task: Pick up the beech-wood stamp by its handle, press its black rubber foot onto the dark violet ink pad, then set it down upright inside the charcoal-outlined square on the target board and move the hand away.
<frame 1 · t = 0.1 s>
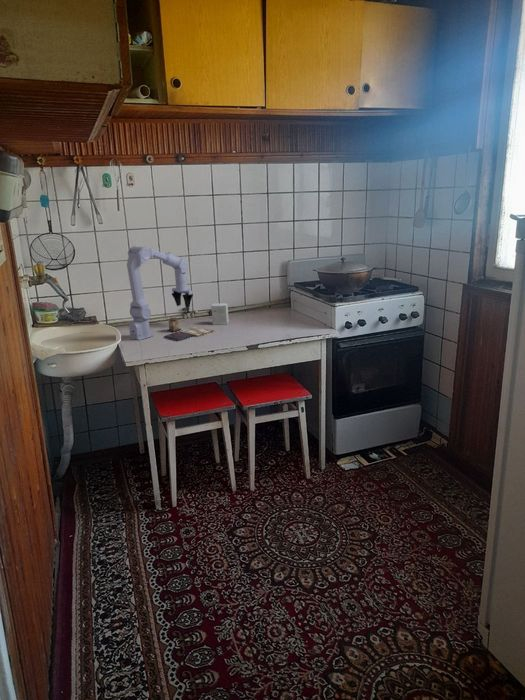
hand: (183, 306, 263), 10 cm above the table, tool pointing down, fingers open, 7 cm apart
small box: (220, 323, 266), on the table
stamp: (174, 331, 255), on the table
ink pad: (178, 337, 243), on the table
target board: (196, 332, 250), on the table
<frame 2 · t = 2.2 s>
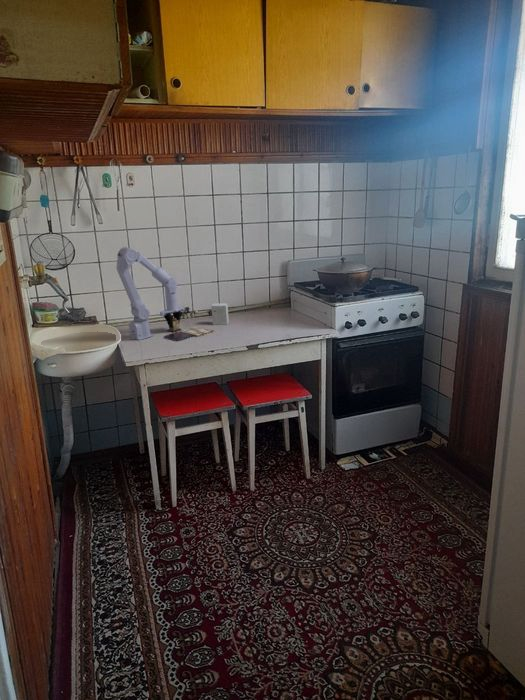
hand: (174, 326, 254), 2 cm above the table, tool pointing down, fingers closed on stamp, 4 cm apart
stamp: (174, 330, 255), on the table, touching gripper
everything else where it was.
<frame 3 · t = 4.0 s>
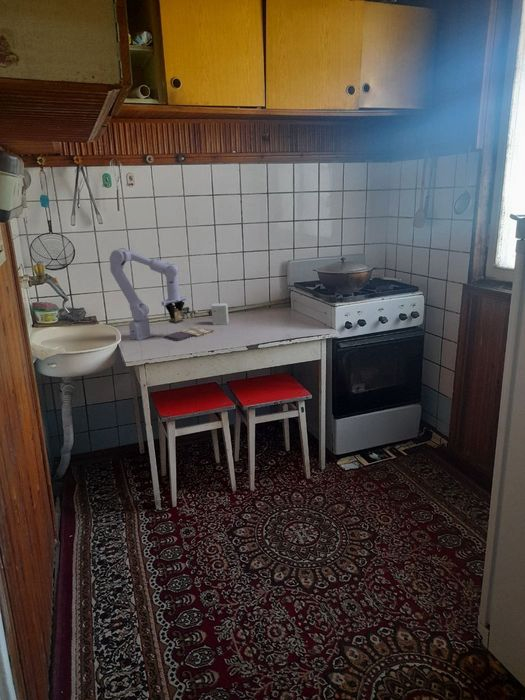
hand: (175, 317, 242), 9 cm above the table, tool pointing down, fingers closed on stamp, 4 cm apart
stamp: (176, 322, 243), point 7 cm above the table, touching gripper
everything else where it was.
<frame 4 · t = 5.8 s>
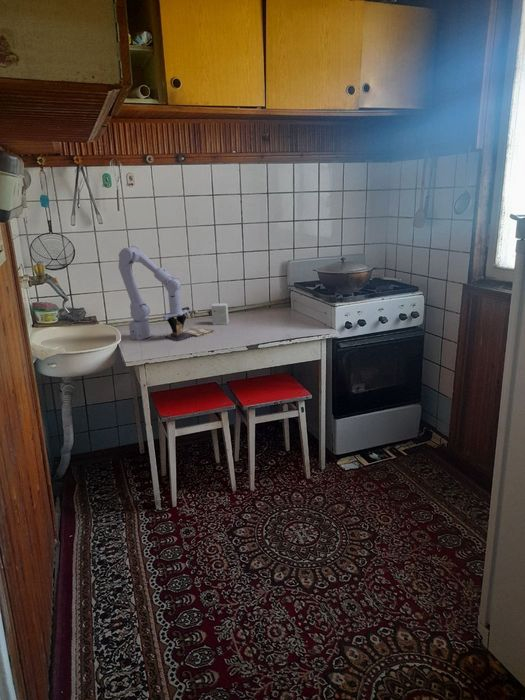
hand: (177, 331, 242), 3 cm above the table, tool pointing down, fingers closed on stamp, 4 cm apart
stamp: (177, 335, 242), point 1 cm above the table, touching gripper, ink pad
everything else where it was.
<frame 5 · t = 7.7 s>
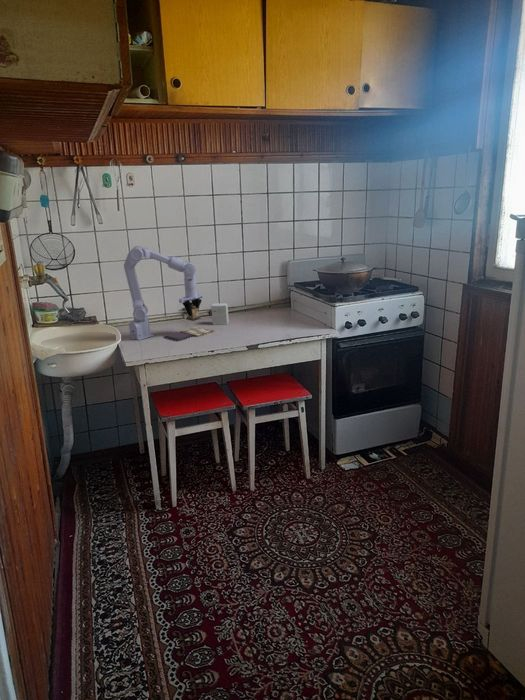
hand: (192, 314, 246), 10 cm above the table, tool pointing down, fingers closed on stamp, 4 cm apart
stamp: (193, 319, 247), point 7 cm above the table, touching gripper
everything else where it was.
when the fingers open (4 cm above the table, at t = 9.5 s): stamp stays where it is, resting on target board.
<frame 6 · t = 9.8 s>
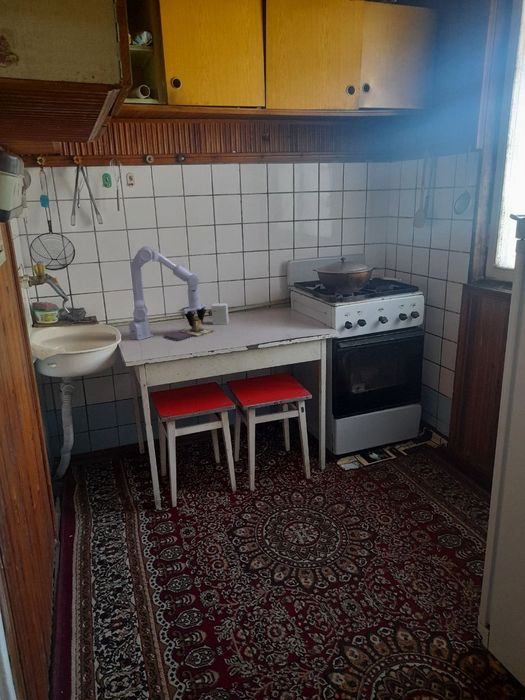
hand: (196, 324, 249), 4 cm above the table, tool pointing down, fingers open, 6 cm apart
stamp: (196, 330, 250), point 1 cm above the table, touching target board
everything else where it was.
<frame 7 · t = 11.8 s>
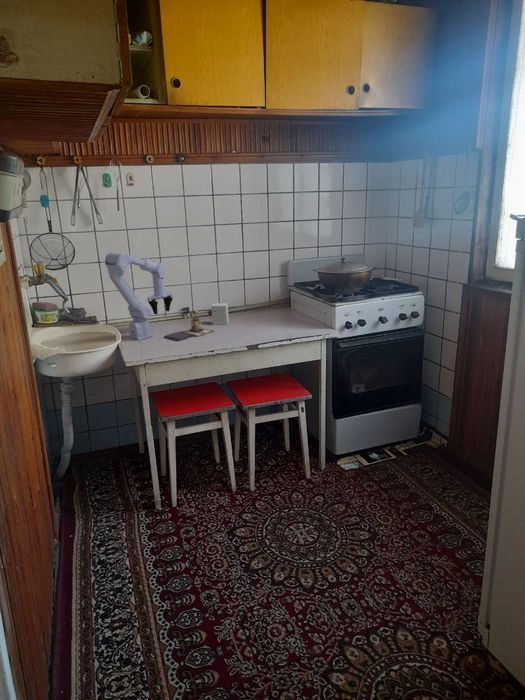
hand: (161, 312, 254), 9 cm above the table, tool pointing down, fingers open, 7 cm apart
nothing on the table moved.
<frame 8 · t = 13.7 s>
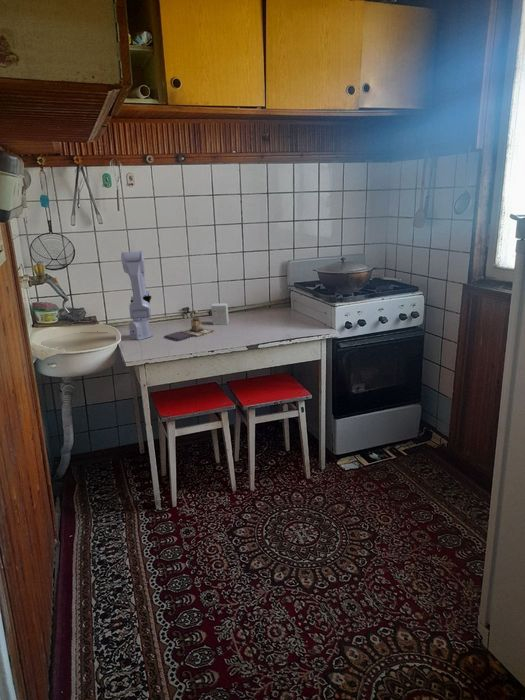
hand: (142, 311, 258), 9 cm above the table, tool pointing down, fingers open, 7 cm apart
nothing on the table moved.
at the end: stamp 0.1 cm off-centre on the target board, point 0.7 cm above the target board's base; stamp tilted 0°; the gripper is holding nothing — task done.
